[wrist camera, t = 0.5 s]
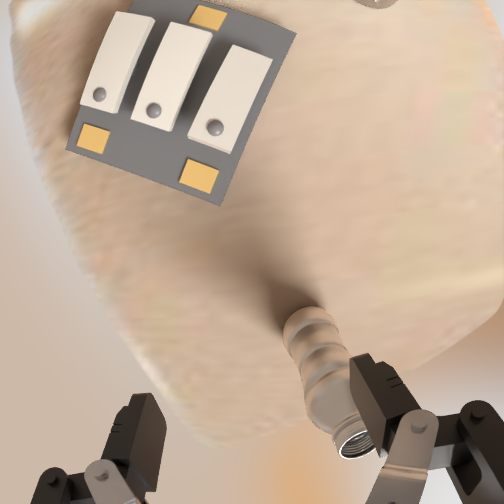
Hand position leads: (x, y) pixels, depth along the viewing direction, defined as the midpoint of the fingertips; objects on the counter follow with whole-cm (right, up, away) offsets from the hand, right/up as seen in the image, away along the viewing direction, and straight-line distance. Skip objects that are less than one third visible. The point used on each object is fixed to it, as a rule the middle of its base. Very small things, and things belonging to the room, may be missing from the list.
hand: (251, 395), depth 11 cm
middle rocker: (-7, +22, +13) cm, 26 cm away
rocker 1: (-13, +24, +12) cm, 29 cm away
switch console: (-8, +23, +18) cm, 30 cm away
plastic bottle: (+7, -3, +27) cm, 28 cm away
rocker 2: (-2, +19, +14) cm, 24 cm away
